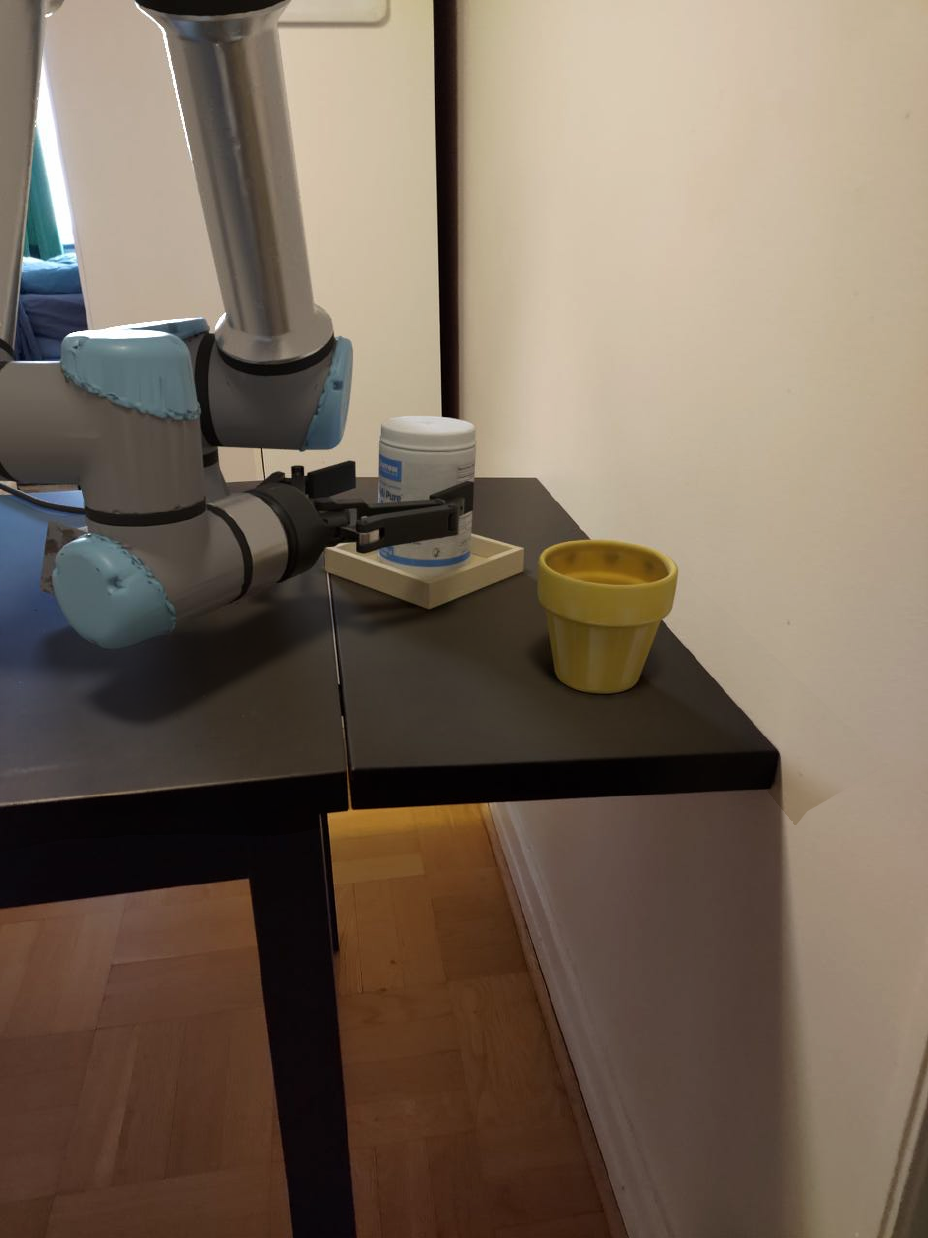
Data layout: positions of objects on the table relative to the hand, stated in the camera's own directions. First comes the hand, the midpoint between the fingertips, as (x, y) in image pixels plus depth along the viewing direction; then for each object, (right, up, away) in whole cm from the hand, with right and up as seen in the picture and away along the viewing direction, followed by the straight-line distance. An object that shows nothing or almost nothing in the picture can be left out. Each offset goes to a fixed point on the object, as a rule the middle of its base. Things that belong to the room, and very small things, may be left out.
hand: (409, 484), depth 82 cm
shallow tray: (+1, -8, +6) cm, 10 cm away
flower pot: (+16, -18, -15) cm, 28 cm away
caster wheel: (-27, -11, -1) cm, 29 cm away
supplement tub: (+1, -8, +6) cm, 10 cm away
